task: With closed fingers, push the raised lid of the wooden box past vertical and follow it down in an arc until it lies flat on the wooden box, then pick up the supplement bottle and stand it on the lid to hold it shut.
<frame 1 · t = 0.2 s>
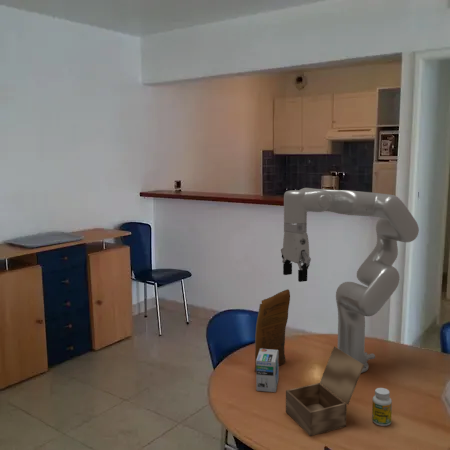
hand: (294, 277, 165), 36 cm above the table, tool pointing down, fingers open, 9 cm apart
lid: (341, 374, 147), point 12 cm above the table, hinge at 115.0°
light bulb box: (267, 385, 167), on the table
supplement bottle: (381, 422, 144), on the table
wooden box: (315, 418, 145), on the table
pancake mix bag: (272, 366, 181), on the table
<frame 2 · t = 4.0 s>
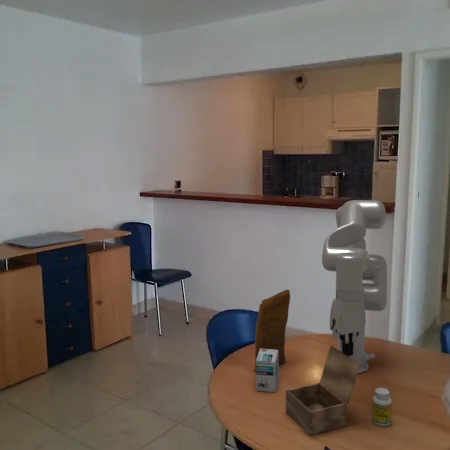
hand: (347, 354, 147), 18 cm above the table, tool pointing down, fingers closed
lid: (339, 373, 147), point 13 cm above the table, hinge at 108.4°, touching gripper
everything else where it was.
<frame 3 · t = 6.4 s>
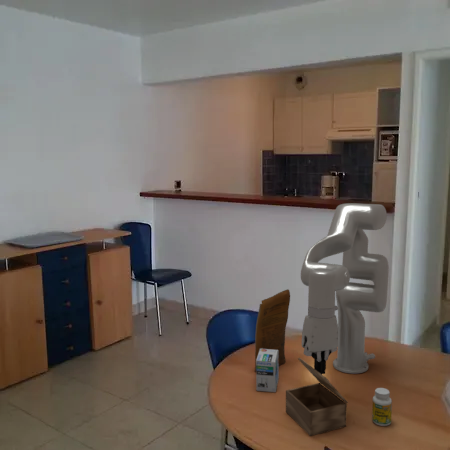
hand: (319, 372, 143), 15 cm above the table, tool pointing down, fingers closed
lid: (322, 379, 145), point 12 cm above the table, hinge at 49.5°, touching gripper
everything else where it was.
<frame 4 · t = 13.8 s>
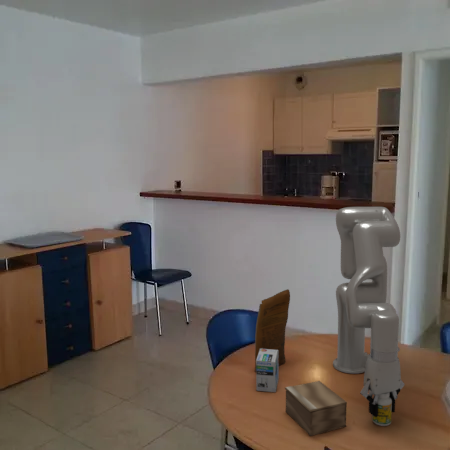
hand: (381, 411, 143), 3 cm above the table, tool pointing down, fingers closed on supplement bottle, 5 cm apart
lid: (315, 395, 144), point 8 cm above the table, hinge at 1.4°
supplement bottle: (381, 422, 144), on the table, touching gripper
everything else where it was.
when the fingers open (11 cm above the table, at t = 18.4 s): supplement bottle stays where it is, resting on lid.
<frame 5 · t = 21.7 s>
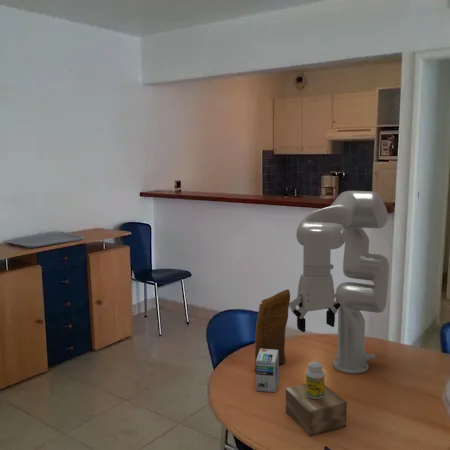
hand: (316, 327, 141), 28 cm above the table, tool pointing down, fingers open, 9 cm apart
lid: (315, 395, 144), point 7 cm above the table, hinge at -0.3°, touching supplement bottle
supplement bottle: (315, 395, 144), point 7 cm above the table, touching lid
everything else where it was.
at the end: lid at +0° (first picture: +115°); supplement bottle inside the target area on the wooden box (0.0 cm from its centre), point 7.4 cm above the wooden box's base; supplement bottle tilted 0° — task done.
